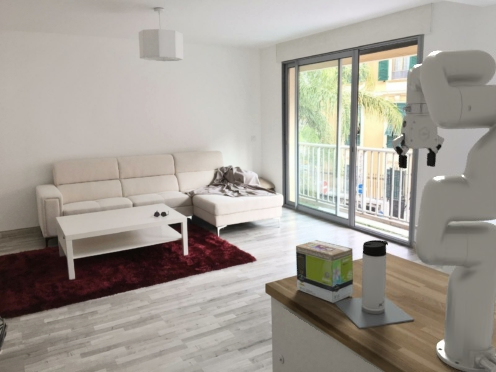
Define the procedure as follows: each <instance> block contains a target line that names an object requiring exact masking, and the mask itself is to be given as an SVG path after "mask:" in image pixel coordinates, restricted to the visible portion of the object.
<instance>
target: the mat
mask: <svg viewBox="0 0 496 372" xmlns="http://www.w3.org/2000/svg"><path fill="white" fill-rule="evenodd" d="M333 304H334V305H335V306H336V307H337V308H339V310H340V311H341V312H342V314H344V315H345V316H346V317H347V318H348V319H349V320H350V321H351V322H352V324H354V325H355V326H356V327H357V328H358V329H360V330H361V329H367V328H368V329H369V328H374V327H375V328H376V327H380V326H386V325H387V326H388V325H392V324H393V325H394V324H399V323H407V322H411V321H412V322H414V320H415V319H414V317H412V316H411V315H410V314H408V313H407V312H406V311H404V310H403V309H402V308H400V307H399V306H398V305H396V304H395V303H394V302H393V301H391V300H390V299H389V298H387V296H385V311H384V312H383V313H381V314H377V315H374V314H369V313H366V312H364V311H363V310H362V296H361V297H353V298H344V299H341V300H339V301H337V302H334V303H333Z"/></svg>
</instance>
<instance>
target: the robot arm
mask: <svg viewBox="0 0 496 372" xmlns="http://www.w3.org/2000/svg"><path fill="white" fill-rule="evenodd" d="M495 74H496V60H495V59H494V57H493V56H492V55H491V54H490V53H488V52H487V51H484V50H482V49H481V50H480V49H454V50H451V49H450V50H448V49H447V50H436V51H433V52H430V53H429V54H428V55H426V57H425V58H424V59H423V61H422V63H420V64H415V65H413V66H412V67H411V68H410V69H409V70H408V71H407V73H406V98H405V99H406V101H405V102H406V103H405V106H403V107H402V111H403V112H405V115H403V117H402V122H401V129H400V135H399V136H397V137H395V138H394V139H392V140H391V142H390V143H391V145H392V147H393V150H394V151H395V153H396V155H398V168H400V169H404V170H405V169H407V168H408V167H407V166H408V155H406V154H407V153H408V152H409V150H410V149H411V150H417V149H426V150H427V151H428V152H427V153H426V166H427V167H433V168H435V167H436V162H437V161H436V160H437V159H436V158H437V154H438V153H439V151H440V150H441V149H442V145H443V144H444V142H445V138H444V137H442V136H440V135H439V133H438V128H439V129H443V130H465V129H467V130H469V129H471V130H472V129H488V131H487V132H485V134H484V135H482V136H481V137H480V138H479V139H478V140H477V141H475V143H474V144H473V146H471V148H470V150H469V151H468V154H467V159H466V163H465V164H466V165H465V168H464V171H463V172H462V173H461V174H459V175H458V174H452V175H451V174H450V175H436V176H434V177H432V178H430V179H429V180H428V181H427V182H426V183H425V185H424V186H423V189H422V193H421V196H420V203H419V204H420V205H419V210H418V218H417V224H416V225H417V227H416V233H415V251H416V255H417V258H418V259H419V261H421V263H423V264H425V265H427V266H428V265H429V266H434V267H435V266H436V267H439V266H441V267H442V266H443V267H444V266H446V267H450V266H451V267H453V266H455V267H454V268H453V270H452V271H451V273H450V274H449V276H448V279H447V280H448V281H447V285H446V300H445V301H446V302H445V319H444V332H443V334H444V336H443V337H444V338H443V339H442V340H440V341H439V342H437V344H436V348H435V352H436V355H437V357H438V358H439V359H440V360H441V361H442V362H444V364H446V365H448V366H450V367H452V368H454V369H456V370H460V371H462V372H496V348H495V347H494V346H493V334H494V325H495V324H494V323H495V313H496V312H495V310H496V224H493V223H492V222H489V221H494V220H496V84H488V83H489V82H491V80H492V79H493V78H494V76H495ZM399 143H400V145H399Z"/></svg>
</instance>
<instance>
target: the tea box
mask: <svg viewBox="0 0 496 372" xmlns="http://www.w3.org/2000/svg"><path fill="white" fill-rule="evenodd" d="M353 256H354V255H353V248H352V247H348V246H343V245H339V244H334V243H331V242H326V241H322V240H318V239H315V240H312V241H308V242H304V243H302V244H299V245H296V246H295V259H296V261H295V262H296V263H295V265H296V288H297V291H301V292H304V293H307V294H309V295H311V296H314V297H317V298H319V299H322V300H325V301H327V302H330V303H331V304H334V302H337V301H339V300H345V299H347V298H349V297H350V296H352V295H353V294H354V266H353Z"/></svg>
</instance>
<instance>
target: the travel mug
mask: <svg viewBox="0 0 496 372" xmlns="http://www.w3.org/2000/svg"><path fill="white" fill-rule="evenodd" d="M387 246H389V242H388V241H387V240H380V239H375V240H374V239H373V240H368V241H365V242H363V245H362V261H361V263H362V265H361V266H362V267H361V269H362V271H361V273H362V274H361V277H362V278H361V297H362V310H363V311H364V312H366V313H369V314H374V315H377V314H381V313H383V312H384V311H385V297H386V277H387V276H386V275H387V274H386V273H387Z"/></svg>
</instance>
